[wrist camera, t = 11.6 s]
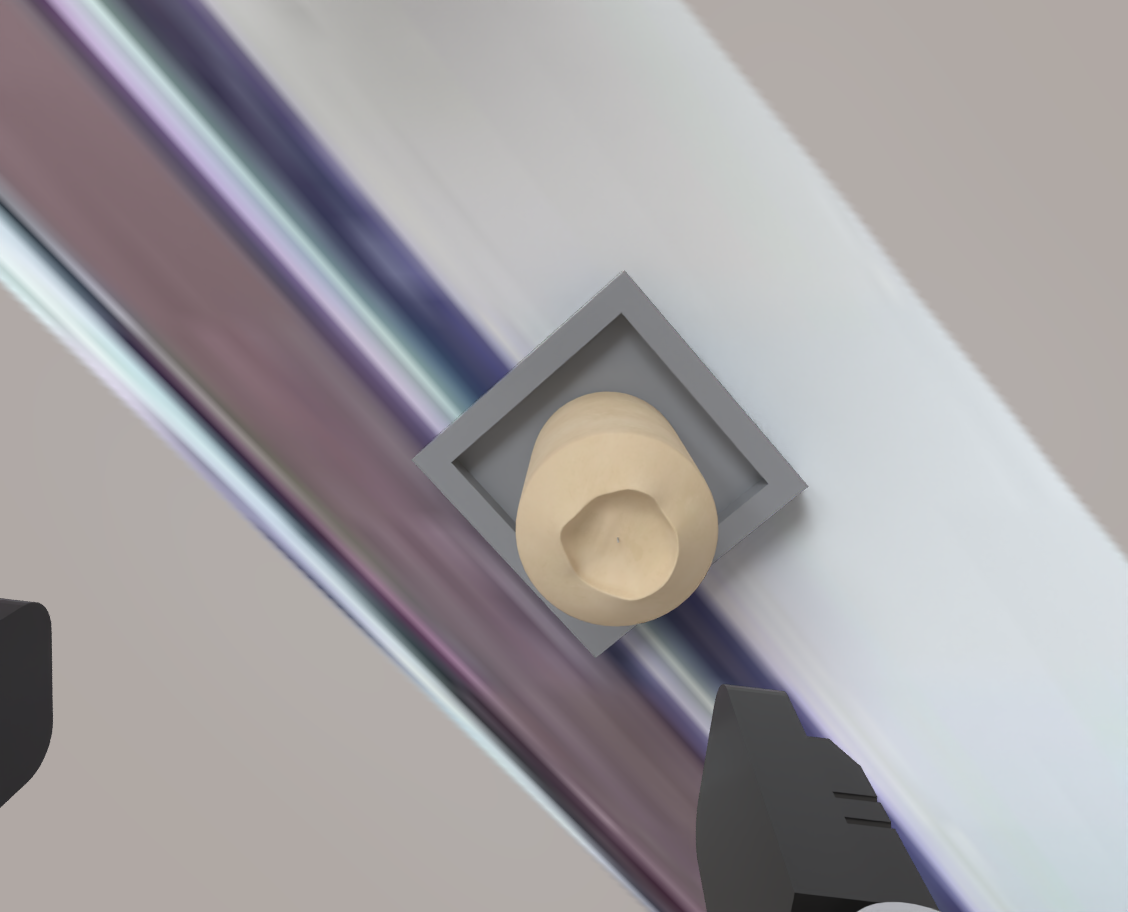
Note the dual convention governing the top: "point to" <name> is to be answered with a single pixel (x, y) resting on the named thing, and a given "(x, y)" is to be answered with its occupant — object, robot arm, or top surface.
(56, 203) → the top surface
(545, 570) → the candle
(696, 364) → the holder
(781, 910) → the robot arm
